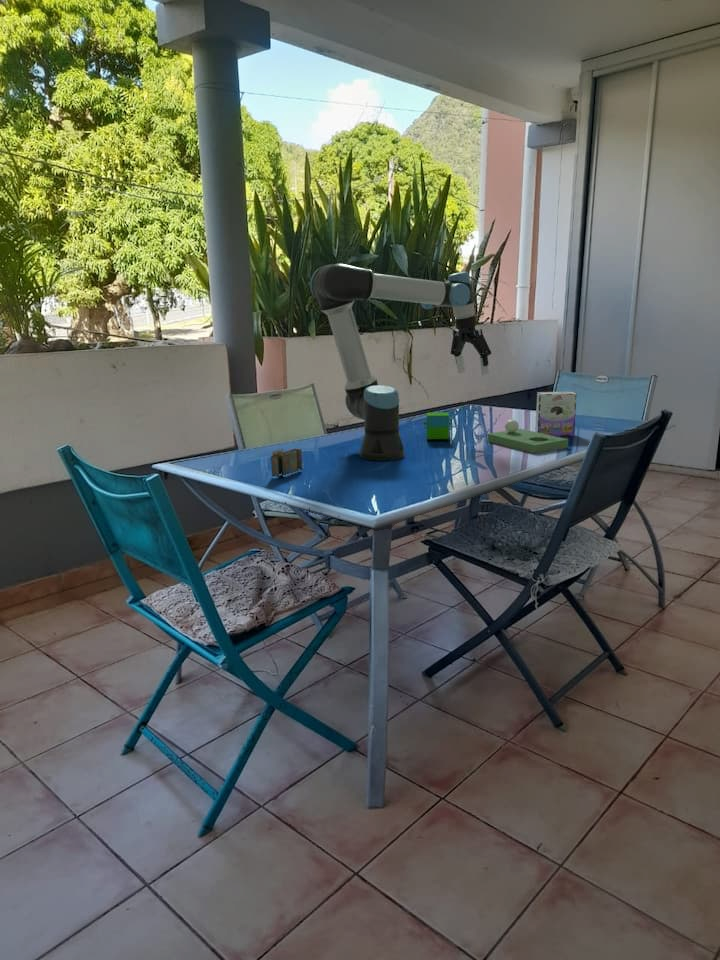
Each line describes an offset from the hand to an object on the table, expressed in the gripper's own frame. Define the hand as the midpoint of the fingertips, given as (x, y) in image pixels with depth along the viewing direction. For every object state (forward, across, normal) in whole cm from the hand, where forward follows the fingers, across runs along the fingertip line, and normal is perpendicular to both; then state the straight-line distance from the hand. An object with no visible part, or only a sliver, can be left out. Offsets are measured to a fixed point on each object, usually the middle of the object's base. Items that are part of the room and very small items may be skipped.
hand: (473, 373), depth 248 cm
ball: (+20, -13, -4) cm, 24 cm away
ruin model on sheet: (+9, -9, +85) cm, 86 cm away
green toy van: (+22, +7, +16) cm, 28 cm away
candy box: (+30, -15, -22) cm, 40 cm away
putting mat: (+26, -21, -2) cm, 33 cm away
